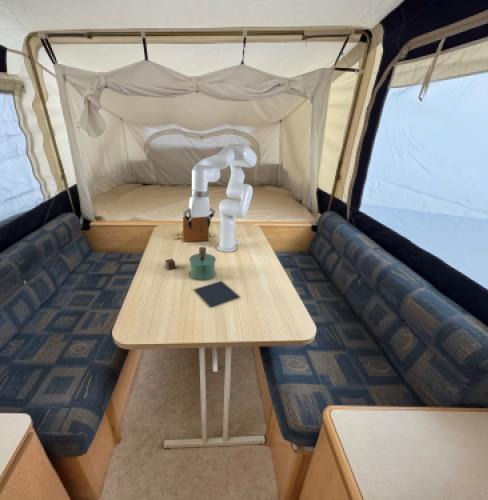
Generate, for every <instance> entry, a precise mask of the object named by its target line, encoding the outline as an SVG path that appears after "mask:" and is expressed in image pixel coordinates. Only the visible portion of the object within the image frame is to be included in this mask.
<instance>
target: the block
mask: <svg viewBox="0 0 488 500" xmlns="http://www.w3.org/2000/svg"><path fill="white" fill-rule="evenodd" d="M165 267H166V268H167V270H168V271H169V270H172V269H176V261H175V260H174V259H173V258H169V259H165Z"/></svg>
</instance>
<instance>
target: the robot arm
mask: <svg viewBox="0 0 488 500" xmlns="http://www.w3.org/2000/svg"><path fill="white" fill-rule="evenodd" d="M257 161H258V157H257V154H256V152H255V151H254V150H253V149H252V148H251V147H250V146H248V145H247V144H244V143H230V144H227V145H226V146H224V148H223V149H221V150H220V151H219V152H218V153H216V154H213V155H210V156H208V157H205V158H202V159H201V160H199V161H198V162H197V163H196V164H195V165H194V166H193V168H192V169H191V196H190V197H189V202H188V208H187V209H186V210H185V211H183V212H182V215H183V217H185V218H186V219H187V220H188V227H189V228H190V229H192V221H191V220H192V219H193V218H195V217H207V219H206V226H207V227H209V228H210V226H211V220H212V218H213V217H214V215H215V214H216V210H215V209H214V208H212V207H210V206H211V205H210V199H209V196H208V195H210V194H211V191H210V190H208V186H209V185H208V183H215V182H218V180H219V179H220V178H221V170H226V169H227V168H228V167H229V169H230V176H229V181H228V183H227V187H226V191H225V194H226V196H227V199H225V198H224V199H222V200H221V201H220V202H219V204H218V211H219V212H218V213H219V241H218V244H216V249H217V250H218V251H220V252H224V253H229V252H234V251H236V250H237V245H240V244H241V240H239V239H238V240H237V239H235V236H236V220H235V218H240V219H244V218H245V217H246V216H247V215H248V211H249V209H250V205H251V201H252V197H253V193H254V189H253V186H252V185H251V184H248V183H244V182H245V177H246V176H245V172H244V170H243V169H242V168H250V169H252V168H254V167H255V166H256V165H257ZM228 198H230V199H228ZM187 215H188V216H187Z"/></svg>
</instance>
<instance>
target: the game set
mask: <svg viewBox="0 0 488 500" xmlns="http://www.w3.org/2000/svg"><path fill="white" fill-rule="evenodd" d="M206 219H207V217H195V218H193V219H192V220H191V221H192V229H190V228H189V227H188V220H187V219H186V218H185V217H184V216H182V231H181V234H182V242H185V243H186V242H188V243H189V242H209V237H211V238H213V237H215V234H213V233H211V234H209V232H210V227H207V226H206ZM174 233H175V234H174V236H175V237H174V239H176V240H178V239H180V237H179V234H180V233H179V232H174Z"/></svg>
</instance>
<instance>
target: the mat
mask: <svg viewBox="0 0 488 500" xmlns="http://www.w3.org/2000/svg"><path fill="white" fill-rule="evenodd" d="M194 291H195V292H196V293H197V294H198V295H199V296H200V297H201V299H203V301H205V303H206V304H207V305H208V306H209V307H210V308H212V307H215V306H218V305H220V304H223V303H226V302H229V301H232V300H235V299H239V298H240V296H239V295H237V294H236V293H235V292H234V291H233V290H232V289H231V288H230V287H228V285H226V284H225V283H224V282H223V281H218V282H215V283H210V284H208V285H205V286H204V285H203V286H201V287H198V288H195V289H194Z"/></svg>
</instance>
